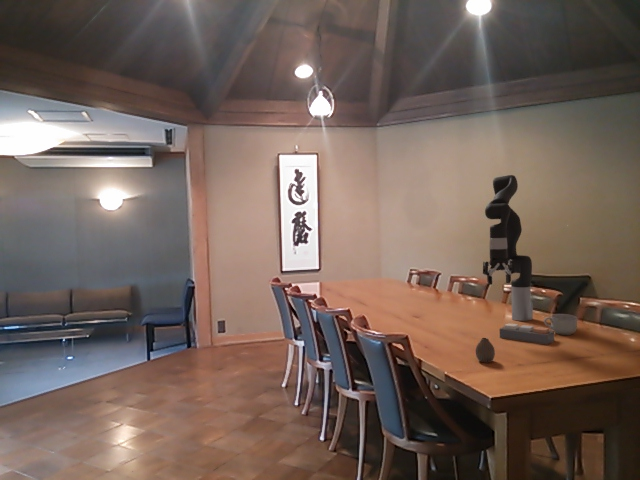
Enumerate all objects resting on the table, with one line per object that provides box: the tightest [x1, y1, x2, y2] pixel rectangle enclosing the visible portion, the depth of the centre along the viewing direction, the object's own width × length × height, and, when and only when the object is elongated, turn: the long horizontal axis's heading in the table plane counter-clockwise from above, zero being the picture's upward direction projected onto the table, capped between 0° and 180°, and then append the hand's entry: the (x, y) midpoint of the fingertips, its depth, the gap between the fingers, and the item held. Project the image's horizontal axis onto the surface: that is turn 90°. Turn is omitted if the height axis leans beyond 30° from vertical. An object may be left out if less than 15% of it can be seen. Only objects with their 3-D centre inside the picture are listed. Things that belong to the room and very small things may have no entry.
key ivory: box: [503, 323, 520, 330], centre depth 216 cm, size 5×5×2 cm
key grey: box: [519, 324, 535, 332], centre depth 212 cm, size 5×5×2 cm
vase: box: [475, 337, 496, 364], centre depth 183 cm, size 7×7×9 cm
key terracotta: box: [534, 326, 550, 334], centre depth 207 cm, size 5×5×2 cm
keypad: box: [499, 326, 555, 345], centre depth 212 cm, size 20×8×4 cm, turn 46°
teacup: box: [543, 313, 578, 336], centre depth 219 cm, size 14×11×8 cm
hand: (499, 283), depth 218 cm, fingers open, 8 cm apart
